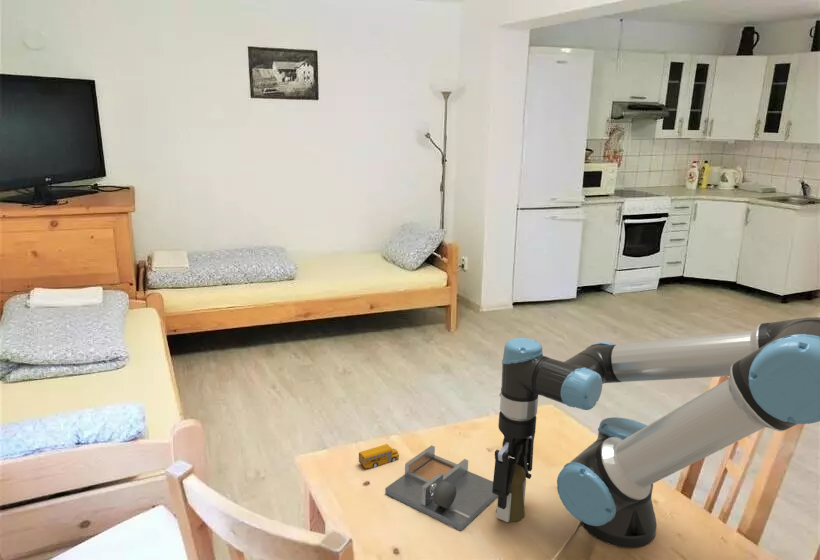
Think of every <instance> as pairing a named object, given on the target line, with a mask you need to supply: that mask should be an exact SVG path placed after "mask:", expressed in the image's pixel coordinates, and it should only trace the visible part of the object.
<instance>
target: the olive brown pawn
mask: <svg viewBox="0 0 820 560" xmlns="http://www.w3.org/2000/svg"><path fill="white" fill-rule="evenodd" d="M525 478H526V473H525V470H524V469H523V467H521V466H520V465H517V464H515V469H514V473H513V478H512V483H511V488H510V492H509V493H511V508H510V521H509V522H510V523H517V522H520V521H522V520H523V519H524V518H525V516H526V515H525V501H524V498H523V483H524V481H525ZM526 479H527V478H526ZM495 513H496V514H497V508H496V510H495ZM509 522H508V523H509Z"/></svg>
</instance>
